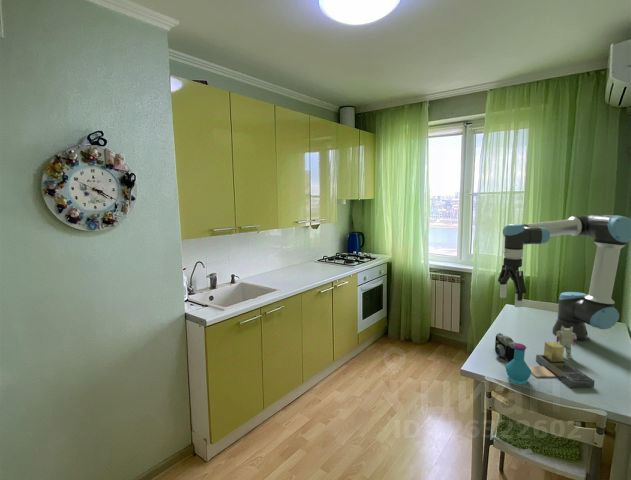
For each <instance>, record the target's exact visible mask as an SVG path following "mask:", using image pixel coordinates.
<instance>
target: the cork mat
mask: <svg viewBox="0 0 631 480" xmlns="http://www.w3.org/2000/svg"><path fill="white" fill-rule="evenodd" d="M528 367H529V368H530V370H531V375H532V376H534V377H535V378H537V379H539V378H540V379H541V378H548V379H550V378H553V379H554V378H557V377H556V376H555V375H554V374H552V373H551V372H550V371H549V370H547V369H546V368H545V367H544V366H542V365H539V366H528Z"/></svg>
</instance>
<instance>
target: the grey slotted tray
mask: <svg viewBox="0 0 631 480" xmlns="http://www.w3.org/2000/svg"><path fill="white" fill-rule="evenodd" d="M535 362H537V363H538V364H539V366H544V367H545V368H546V369H547V370H549V371H550V372H551V373H552V374H554V375H555V376H556V377H555V378H557V379H558V380H559V381H561V382H562V383H563V384H565V386H567V387H568V388H570V389H594V388H595V380H594V379H592V378H591V377H590V376H588V375H586V374H585V373H584V372H582V371H581V370H579V369H578V368H576V367H575V366H574V365H572V364H571V363H570V362H569V361H567V360H565V359H564V358H563V363H550V362H548V361H547V360H546V359H544V354H536V355H535Z"/></svg>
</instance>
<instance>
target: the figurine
mask: <svg viewBox="0 0 631 480" xmlns="http://www.w3.org/2000/svg"><path fill="white" fill-rule="evenodd" d="M561 330H562V331H557V332H556V335H555V337H556V339H555V340H556V341H555V342H557V343H559V344H560V345H562V346H563V347H564V350H565V353H564V354H565V357H566V358H568V359H572V355H571V354H572V346H573V347H576V346H577V344H576V343H577V342H578V341H577V340H576V339H577V337H576V334H575V333H573V332H572V331H573V327H571V328H568V329H566V328H564V327H563V326H561Z"/></svg>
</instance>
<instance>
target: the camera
mask: <svg viewBox="0 0 631 480" xmlns="http://www.w3.org/2000/svg"><path fill="white" fill-rule="evenodd" d="M494 340H495V342H494V344H495V345H494V351H495V354H496V355H497V356H498V357H500V358H504V359H505V360H506V361H508V363H509V362H510V361H511V360H513V359H514V351H515V349H514V346H513V345H514V344H516V343H517V342H516V341H514V339H512V337H510V336H507V335H504V334H503V333H501V332H498V333H496V335H495V339H494Z"/></svg>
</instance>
